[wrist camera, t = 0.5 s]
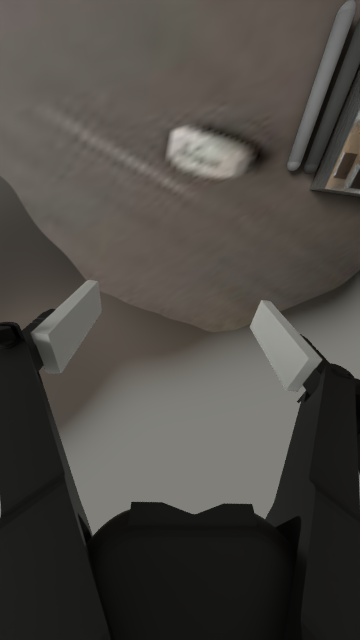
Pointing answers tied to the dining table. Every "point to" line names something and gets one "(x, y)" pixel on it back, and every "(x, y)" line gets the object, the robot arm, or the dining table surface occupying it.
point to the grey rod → (322, 81)
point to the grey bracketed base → (343, 151)
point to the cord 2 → (335, 102)
